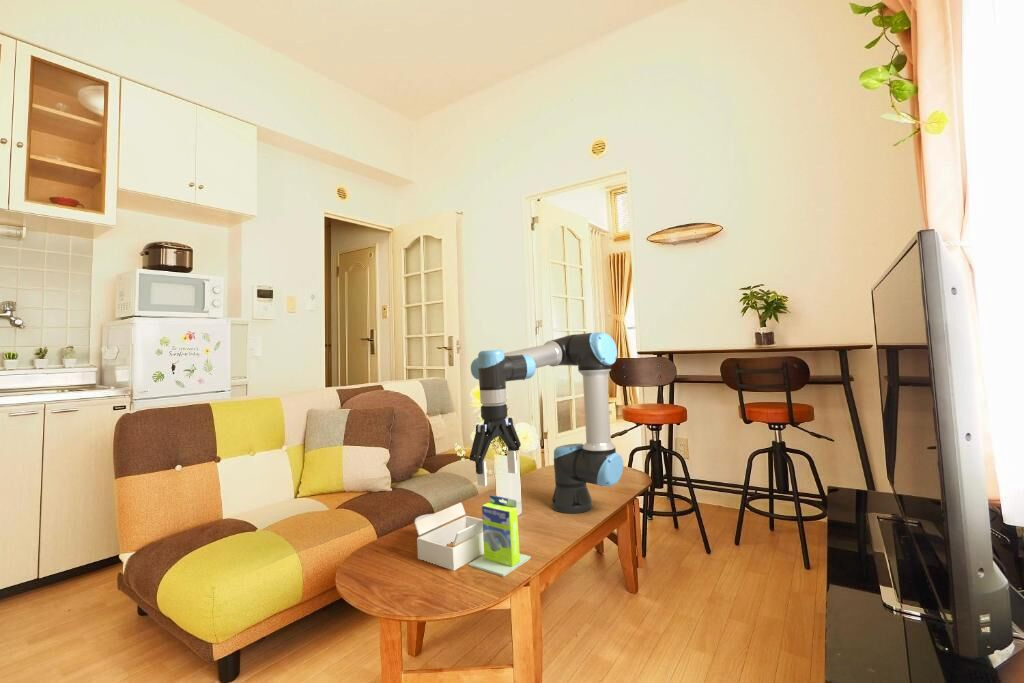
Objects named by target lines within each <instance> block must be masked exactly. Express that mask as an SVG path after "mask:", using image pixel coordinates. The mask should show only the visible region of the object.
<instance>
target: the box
mask: <svg viewBox="0 0 1024 683" xmlns="http://www.w3.org/2000/svg"><path fill="white" fill-rule="evenodd" d="M500 500H503V501H504V502H502V501H500ZM505 502H506V503H505ZM481 512H482V514H481V515H482V517H481V518H482V519H483V541H484V554H483V555H484V558H485V559H489V560H492V561H495V562H498V563H502V564H505V565H508V566H511V567H513V566H514V565H516V564H517V563H519V562H520V554H521V553H520V539H519V538H520V537H519V522H518V521H519V520H518V507H517V499H512V498H509V497H502V496H497V495H491V494H490V495H489V502H486V503H485V504H482V505H481Z"/></svg>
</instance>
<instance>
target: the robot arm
mask: <svg viewBox="0 0 1024 683" xmlns="http://www.w3.org/2000/svg"><path fill="white" fill-rule="evenodd" d="M617 358H618V349H617V345H616V342H615V341H614V338H613V337H612V336H611V335H609V333H607V332H596V331H595V332H589V333H578V334H576V333H575V334H569V335H565V336H562V337H559V338H556V339H552V340H548V341H546V342H544V344H542V345H537V346H531V347H527V348H523V349H518V350H513V351H509V352H504V350H503V349H491V350H490V349H489V350H480V351H479V352H478V354H477V357H475V358H474V359H473V361H471V364H470V373H471V375H472V377H473V378H474V379H476V380H478V383H479V386H478V387H479V394H480V396H479V399H480V404H481V406H480V417H481V419H482V420H483V424H478V423H477V424H476V425H475V433H474V438H473V442H472V447H471V450H470V454H469V458H468V459H469V461H472V462H474V463H475V473H476V476H477V486H481V487H486V486H488V480H487V461H484V460H485V457H486V455H487V453H488V450H489V448H490V446H491V443H492V441H494V439H496V438H498V437H500V439H501V440H502V441H503V443H504V444H505V446H506V447H507V449H508V450H506V453H507V454H506V459H507V461H506V462H507V473H509V474H515V475H516V474H518V468H517V460H518V458H517V451H519V450H520V447H521V444H522V443H521V441H520V438H519V437H518V436H519V435H518V433H517V431H516V428H515V426H514V421H513V418H512V417H508V404H506V403H507V402H508V398H507V386H506V384H507V383H506V382H512V381H525V380H527V379H532V378H533V376H534V375H535V373H536V369H538V368H542V367H546V366H549V367H558V366H572V367H573V366H574V367H576V366H577V370H578V372H579V373H580V374H581V375H582V383H583V384H582V386H583V387H582V388H583V399H584V400H583V402H584V406H583V407H584V420H585V423H584V424H585V440H586V441H585V443H584V444H583V443H570V444H563V445H559V446H556V447H555V449H554V450H553V467H554V468H553V469H554V482H555V486H554V491H553V494H552V499H551V508H552V510H554V511H556V512H559V513H563V514H580V513H585V512H588V511H590V510H592V509H593V499H592V497H591V494H590V490H589V489H588V485H587V484H592V485H597V486H600V487H609V488H610V487H614V486H615V485H616V484H618V483H619V481H620V479H621V477H622V476H623V471H624V460H623V458H622V456H621V454H619V453H618V452H616V451H617V450H616V445H615V444H614V443H613V442H612V439H611V425H610V424H611V423H610V420H611V419H610V405H609V404H610V402H609V387H608V386H609V385H608V374H609V373H610V372H611V371H612V365H613V364H615V362H616V361H617Z"/></svg>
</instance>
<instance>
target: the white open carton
mask: <svg viewBox="0 0 1024 683" xmlns="http://www.w3.org/2000/svg"><path fill="white" fill-rule="evenodd" d="M482 520H483V518H479V517H474V516H468V515H463V516H461V518H460V517H459V518H457V519H456V520H455V519H454V520H452V521H450V522H448V523H446V524H445V525H442V527H440V528H438V529H436V530H434V531H431V532H429V533H427V534H425V535H423V536H421V537H419V536H418V537H417V538H416V546H417V548H416V549H417V559H418V560H421V561H423V560H424V562H426V561H427V563H429V562H430V564H432V563H433V565H435V564H436V566H438V565H439V567H441V568H445V569H447V570H450V571H453V572H454V571H456V570H457V569H460V568H462V567H463V566H465V565H466V564H469V563H471V562H472V561H474V560H476V559H478V558H479V557H481V556H483V555H484V541H483V531H482V532H480V533H478V534H476V535H474V536H472V537H470V538H469V539H467V540H465V541H463V542H461V543H459V544H457V545H455V546H453V547H452V546H448V545H450V544H452V543H454V540H455V537H456V534H457V532H459V531H462V530H464V529H466V528H468V527H470V526H472V525H474V524H476V523H478V522H480V521H482ZM451 542H452V543H451ZM447 544H448V545H447Z"/></svg>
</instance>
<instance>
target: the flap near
mask: <svg viewBox="0 0 1024 683" xmlns="http://www.w3.org/2000/svg"><path fill="white" fill-rule="evenodd" d="M482 531H483V520H482V521H480V522H478V523H476V524H474V525H472V526H470V527H468V528H466V529H464V530H462V531H459V532H457V534H456V537H455V540H454V542H452V543H453V544H452V545H453V547H455V546H457V545H459V544H461V543H462V542H464V541H466V540H468V539H470V538H472V537H473V536H474V535H476V534H478V533H480V532H482Z"/></svg>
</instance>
